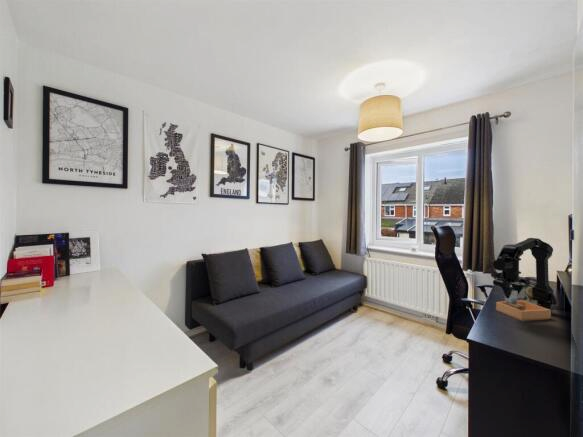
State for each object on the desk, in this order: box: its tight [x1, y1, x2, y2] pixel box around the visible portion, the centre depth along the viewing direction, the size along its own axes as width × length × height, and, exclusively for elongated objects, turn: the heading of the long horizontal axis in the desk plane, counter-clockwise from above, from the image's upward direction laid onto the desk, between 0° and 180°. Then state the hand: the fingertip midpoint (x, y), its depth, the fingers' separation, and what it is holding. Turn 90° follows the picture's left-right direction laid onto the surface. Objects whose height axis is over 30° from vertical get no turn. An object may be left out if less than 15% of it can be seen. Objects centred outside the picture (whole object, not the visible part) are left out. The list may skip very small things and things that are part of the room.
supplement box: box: [511, 283, 525, 299], centre depth 166 cm, size 7×7×13 cm
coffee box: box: [523, 276, 537, 305], centre depth 153 cm, size 9×6×16 cm
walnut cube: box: [508, 303, 525, 311], centre depth 136 cm, size 5×5×5 cm
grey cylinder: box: [504, 289, 519, 304], centre depth 130 cm, size 5×5×7 cm
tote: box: [495, 300, 552, 322], centre depth 137 cm, size 18×14×5 cm
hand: (511, 297), depth 130 cm, fingers closed on grey cylinder, 5 cm apart
